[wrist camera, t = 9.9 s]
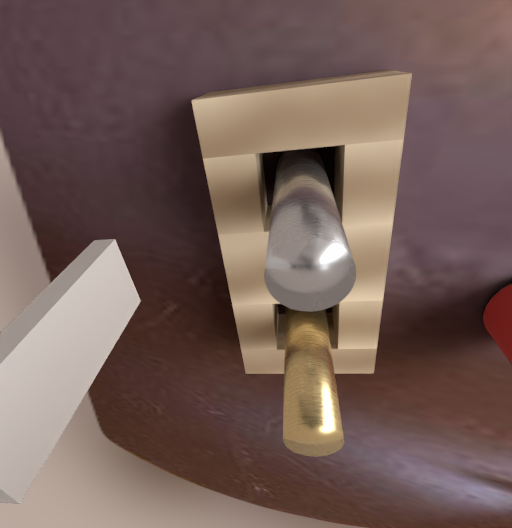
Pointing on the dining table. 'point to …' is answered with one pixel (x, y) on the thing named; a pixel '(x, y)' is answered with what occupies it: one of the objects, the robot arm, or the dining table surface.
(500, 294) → the beer can
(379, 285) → the pin block
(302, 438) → the brass pin
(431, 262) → the dining table surface
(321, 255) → the steel pin
